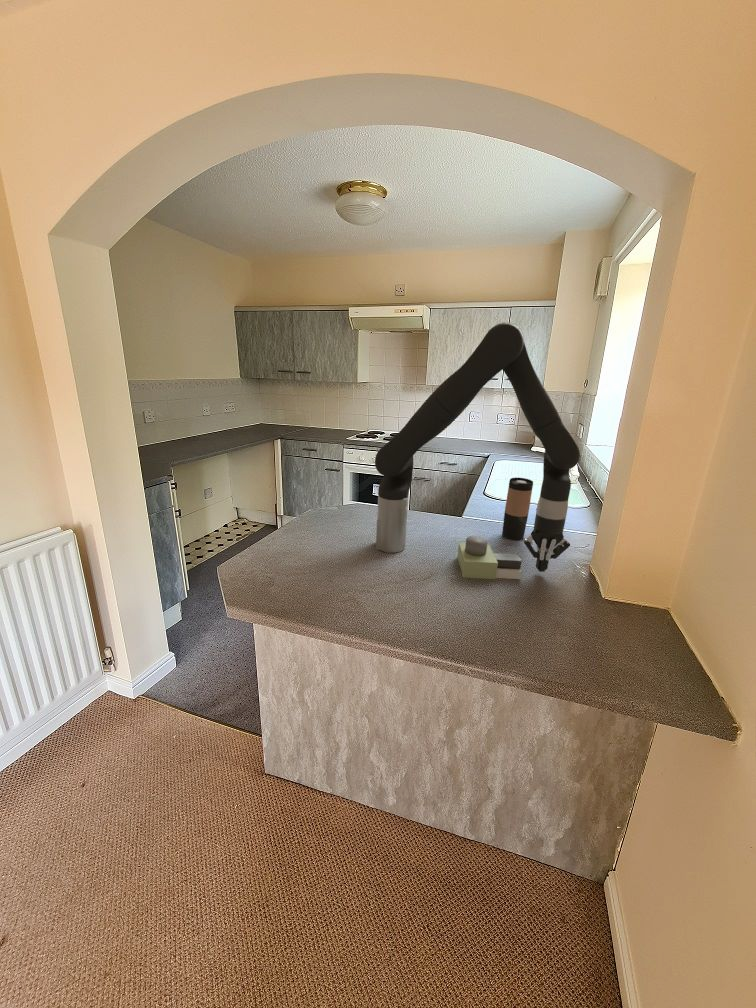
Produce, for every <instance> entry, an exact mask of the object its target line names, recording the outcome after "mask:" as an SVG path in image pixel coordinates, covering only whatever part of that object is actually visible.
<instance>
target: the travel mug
mask: <svg viewBox="0 0 756 1008" xmlns="http://www.w3.org/2000/svg"><path fill="white" fill-rule="evenodd" d="M533 487H534V481H533V480H531V479H529V478H526V477H511V478H509V482H508V488H507V495H506V501H505V502H506V503H505V507H504V512H503V513H504V516H503V522H502V532H501V533H502V537H503V538H505V539H508V540H513V541H520V540H521V541H522V539H523V538H524V537H525V532H526V528H527V522H528V518H529V512H530V505H531V499H532V495H533Z"/></svg>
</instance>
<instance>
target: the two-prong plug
mask: <svg viewBox="0 0 756 1008" xmlns="http://www.w3.org/2000/svg"><path fill="white" fill-rule="evenodd" d="M456 558H457V561H458V565H459V568H460V572H461V575H462V578H467V579H469V578H471V579H472V578H473V579H484V580H485V579H486V580H488V579H489V580H496V579H509V580H521V578H522V569H521V568H520V569H502V568H497V567H498V562H497V560H496V558H495V556H494V551H493V550H492V547H491V545H490V544H489V542H488V539H486V538H484V537H482V536H478V535H472V536H467V537H466V538H465V542H458V549H457V557H456Z"/></svg>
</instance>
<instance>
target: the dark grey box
mask: <svg viewBox="0 0 756 1008" xmlns="http://www.w3.org/2000/svg"><path fill="white" fill-rule="evenodd" d="M493 553H494V552H493ZM494 556H495V558H496V560H497V562H498V567H497V568H502V569H520V570H521V566H522V559H521V558H520V556H519V554H518V553H517V554H515V553H514V554H513V553H499V552H497V553H496V552H495V553H494Z"/></svg>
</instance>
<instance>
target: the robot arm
mask: <svg viewBox="0 0 756 1008" xmlns="http://www.w3.org/2000/svg"><path fill="white" fill-rule="evenodd" d="M526 347H527V346H526V343H525V337H524V333H523V331H522V330H521V328H520V327H519V326H518V325H517V324H515V323H513V322H507V321H506V322H505V321H504V322H500V323H497V324H496V325H494V326H493V327H491V328H490V329H489V330H488V332H486V334H485V335H484V337H483V338H482V340H481V341H480V343H479V344H478V346H477V347H476V348H475V350H474V351H473V352H472V353H471V354H470V356H469V357H468V358H467V360H466V361H465V362H464V363H463V364H462V365H461V366H460V367H459V368H458V369H457V370H455V372H453V373H452V374H451V375H450V376H449V377H447V378H446V379H445V380H444V381H443V382H441V384H440V385H439V386H438V387H436V389H435V390H434V391H433V392H432V393H431V394H430V395H429V396H428V398H427V399H426V400H424V402H423V403H422V405H420V406H419V408H418V409H417V410H416V411H415V412H414V414H413V415H412V416H411V417H410V419H409V420H408V421H407V423H405V425H404V426H403V427H402V428H401V429H400V431H399V432H397V434H395V435H394V436H393V437H392V438H391V439H390V440H389V441H387V442H386V443H385V444H384V445H383V446H382V447H380V448H379V450H378V451H377V453H376V455H375V459H374V465H375V469H376V471H377V472H378V473H379V474H380V475H382V476H383V477H382V480H381V482H380V484H379V485H378V490H377V495H378V496H377V517H376V518H377V519H376V530H375V531H376V534H375V537H376V538H375V550H377V551H380V552H385V553H399V552H400V553H401V552H403V551H404V550H405V549H406V542H407V525H408V510H409V509H408V507H409V506H408V505H409V492H410V489H411V487H412V486H411V485H412V483H413V482H412V481H413V470H414V455H415V454H416V453H417V452H418V451H419V450H420V449H421V448H422V447H424V446H425V445H427V444H428V443H429V442H430V441H432V440H433V439H434V438H436V437H437V436H438V435H440V434H441V433H442V432H443V431H445V430H446V429H447V428H448V427H449V426H451V424H452V423H454V422H455V420H456V419H457V418H459V416H461V414H462V413H463V412H464V411H465V410H466V408H468V406H470V404H471V403H472V401H473V400H474V399H475V398H476V396H477V395H478V393H479V392H480V391H481V390H482V389H483V387H485V385H487V384H488V382H490V381H491V380H492V379H493V378H494V377H495V376H497V375H498V374H499V373H500V372H502V371H503V372H504V374H505V375H506V377H507V379H508V381H509V382H510V384H511V387H512V389H513V390H514V393H515V396H516V398H517V400H518V403H519V406H520V408H521V410H522V412H523V415H524V416H525V418H526V420H527V423H528V424H529V426H530V428H531V430H532V432H533V434H535V436H536V437H537V438H538V440H539V441H540V442H541V444H542V446H543V449H544V452H543V453H544V455H543V466H542V467H543V469H542V470H543V472H542V473H543V474H542V475H543V477H542V483H541V488H540V494H539V499H538V502H537V507H536V508H535V511H536V513H535V518H534V525H533V530H532V532H530V536H528V537H525V536H524V537H523V539H521V541H522V542H523V543H524V545H525V546H526V548H527V550H528V551H529V553H530V554H531V555H532V557H533V558H535V559H536V561H535V562H536V563H535V568H536V569H537V570H538V572H542V573H545V572H546V571H547V570H548V566H549V562H550V560H551V559H554V560H555V559H557V558H559V556H561V554H563V553H564V552H565V551H566V550H567V549H568V548H569V547H570V546H571V543H570V542H569V541H568V540H567V539H565V537H564V529H565V526H566V525H565V523H566V520H567V519H566V518H567V514H568V508H569V498H570V492H571V487H572V483H571V479H570V470H571V469H573V468H575V466H577V465H578V463H579V461H580V459H581V458H580V457H581V453H580V449H579V447H578V445H577V443H576V441H575V440H574V438H573V436H572V435H571V434H570V432H569V431H568V429H567V428H566V426H565V425H564V423H563V420H562V418H561V415H560V414H559V412H558V409H557V408H556V407H555V405H554V403H553V401H552V399H551V397H550V396H549V394H548V392H547V390H546V389H545V387H544V385H543V383H542V382H541V380H540V378H539V376H538V375H537V372H536V370H535V368H534V366H533V364H532V362H531V359H530V357H529V352H528V350H527V348H526ZM533 542H534V543H535V545H536V549H537V550H535V549H534V547H533Z"/></svg>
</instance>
